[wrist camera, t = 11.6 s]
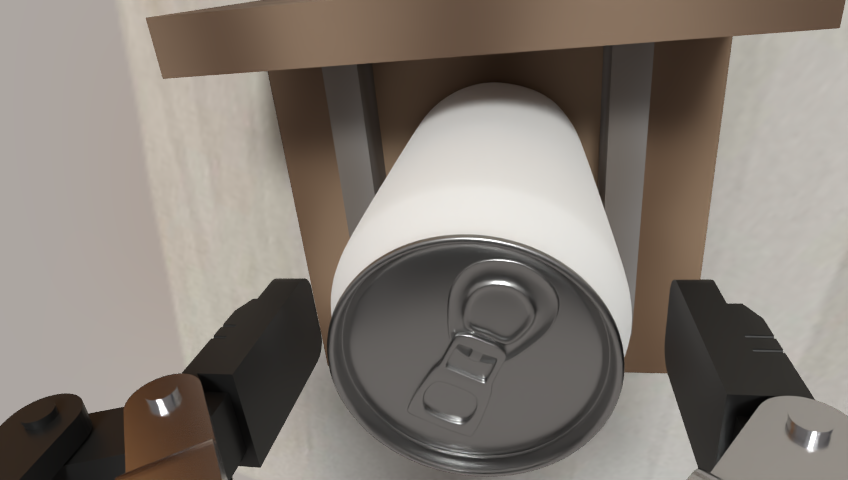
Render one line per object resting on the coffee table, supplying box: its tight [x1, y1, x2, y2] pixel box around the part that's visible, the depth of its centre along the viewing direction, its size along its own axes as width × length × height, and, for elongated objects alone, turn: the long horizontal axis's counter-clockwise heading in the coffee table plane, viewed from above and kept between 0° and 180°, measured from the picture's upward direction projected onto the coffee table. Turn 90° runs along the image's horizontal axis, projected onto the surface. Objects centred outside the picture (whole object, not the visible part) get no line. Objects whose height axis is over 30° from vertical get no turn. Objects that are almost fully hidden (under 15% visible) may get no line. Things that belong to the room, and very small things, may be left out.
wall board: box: [146, 0, 845, 373], centre depth 20 cm, size 16×16×8 cm
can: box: [327, 82, 632, 477], centre depth 16 cm, size 6×6×12 cm
